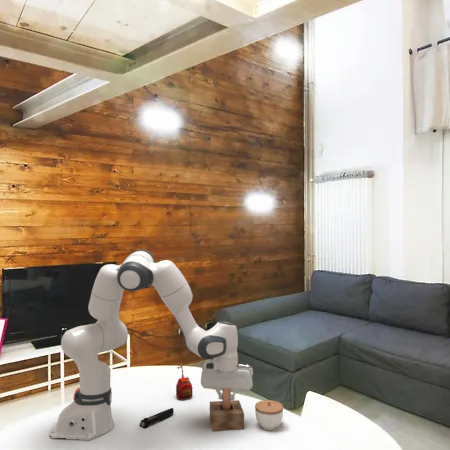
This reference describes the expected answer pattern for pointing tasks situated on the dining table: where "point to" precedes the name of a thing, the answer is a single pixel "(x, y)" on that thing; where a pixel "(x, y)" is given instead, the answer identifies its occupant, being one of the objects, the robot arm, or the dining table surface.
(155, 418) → the electric trimmer
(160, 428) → the dining table surface
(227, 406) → the peg
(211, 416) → the socket block
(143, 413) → the dining table surface
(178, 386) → the red clay folk toy
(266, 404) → the lidded jar
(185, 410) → the dining table surface
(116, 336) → the robot arm
